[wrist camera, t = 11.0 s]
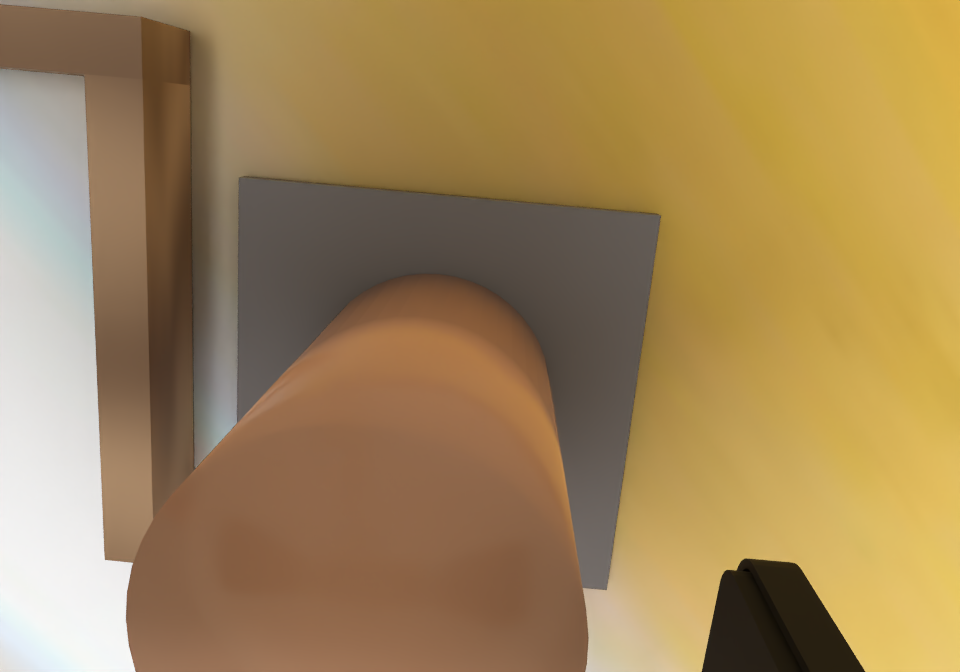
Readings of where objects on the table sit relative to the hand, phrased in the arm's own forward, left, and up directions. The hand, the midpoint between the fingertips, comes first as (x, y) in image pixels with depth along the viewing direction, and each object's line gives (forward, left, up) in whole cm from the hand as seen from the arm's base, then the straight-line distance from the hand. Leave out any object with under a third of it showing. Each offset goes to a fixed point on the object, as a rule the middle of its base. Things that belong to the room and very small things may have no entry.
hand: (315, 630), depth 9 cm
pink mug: (+2, 0, -11) cm, 11 cm away
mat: (+1, 0, -11) cm, 11 cm away
